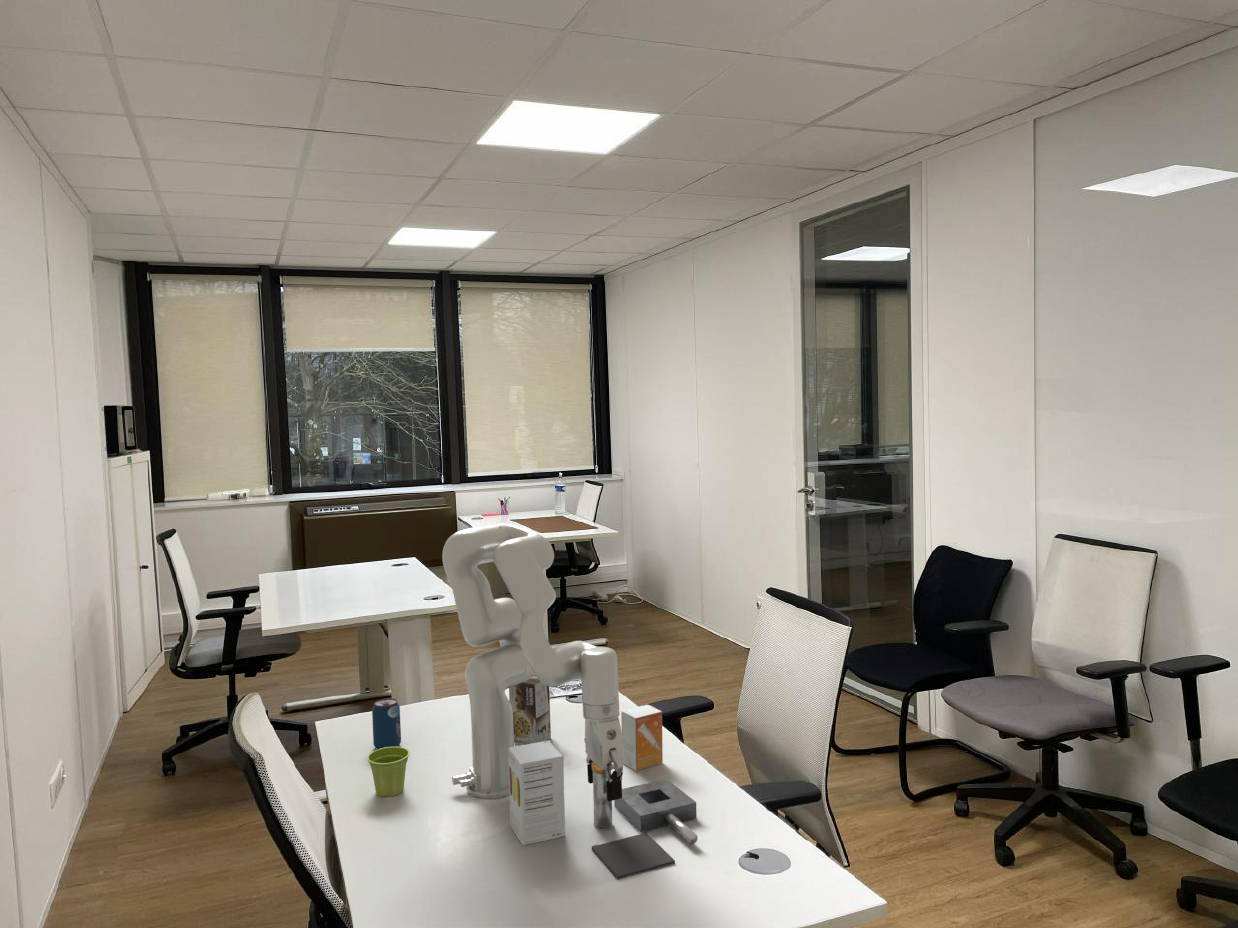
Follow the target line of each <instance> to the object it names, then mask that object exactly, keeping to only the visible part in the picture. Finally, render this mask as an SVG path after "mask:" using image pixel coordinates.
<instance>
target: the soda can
mask: <svg viewBox="0 0 1238 928" xmlns="http://www.w3.org/2000/svg"><path fill="white" fill-rule="evenodd" d="M371 715H372V718H371V719H372V720H371V721H372V736H373V737H372V739H373V741H372V743H373V747H374V748H375V750H378V749H381V748H385V747H400V745H401V743H402V729H401V727H402V726H401V708H400V705H399V703H398V700H397V698H396V699H395V698H391V697H389V698H387V697H386V698H381V699H378V700H376V701H375V702H374V704H373V706H372V709H371Z"/></svg>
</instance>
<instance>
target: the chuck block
mask: <svg viewBox="0 0 1238 928" xmlns="http://www.w3.org/2000/svg"><path fill="white" fill-rule="evenodd" d="M613 802H614V803H613V804H614V808H615V809H616V810H617V811H618V812H619V813H620V814H622V816H624V817H625V819H627V820H628V822H630V824H631V825H633V827H635V828H636V830H637V831H638V832H640V834H643V833H647V832H649V831H653V830H658V829H662V828H664V827H669V826H670V827H671V828H672V829H674V830H675V831H676V832H677V833H679V835H680V836H682V838H683V839H685V840H686V841H687V842H688V843H689V844H690V845H694V844H695V843H697V841H698V835H697V833H695V832H694V831H693V830H692V829H690V828H689V827H688V826H687V825H686V824H685V822H689V821H692V820H696V819H697V816H698V815H697V802H696V801H695V800H694V799H693V798H692V797H690V796H689V794H687V793H686V792H684V790H682V789H681V788H680V787H678V786H677V785H676V784H674V783H673V782H672V781H671V780H669V779H668V778H664V779H661V780H660V779H659V780H655V781H651V782H647V783H642V784H637V785H634V786H628V787H625V788H624V787H623V788H622V798H621V799H617V800H613Z"/></svg>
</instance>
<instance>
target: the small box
mask: <svg viewBox="0 0 1238 928" xmlns="http://www.w3.org/2000/svg"><path fill="white" fill-rule="evenodd" d="M620 713H621V714H620V715H621V716H620V717H621V718H620V719H621V722H620V725H621V732H622V740H623V750H624V765H625V766H627V767H628V768H630V769H632V770H634V771H635V772H637V771H640V770H643V769H646V768H650V767H654V766H657V765H661V764H664V763H663V762H664V761H663V711H662V710H660V709H658V708H656V707H654V706H652V705H650V704H645V705H641V706H637V707H636V706H635V707H631V708H630V709H629V708H628V709H625V710H620Z"/></svg>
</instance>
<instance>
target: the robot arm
mask: <svg viewBox="0 0 1238 928" xmlns="http://www.w3.org/2000/svg"><path fill="white" fill-rule="evenodd" d="M441 556H442V559H441V560H442V565H443V568H444V572H445V574H446V577H447V580H448V583H449V585H450V587H451V589H452V593H453V597H454V604H455V607H456V612H457V615H458V616H457V617H458V620H459V624H460V630H461V632H462V636H463V638H464V641H465V642H466V644H468V645H469V646H471V647H476V648H477V647H478V648H479V647H483V646H487V645H490V644H493V643H497V642H499V645H500V646H499V647H498V646H497V647H494V648H492V649H489V650H485V651H483V652H481V653H478V654H476V655H474V656H473V657H472V658H470V660H469V661H468V663H467V664H466V665H465V669H464V679H465V685H466V688H467V692H468V698H469V706H470V707H469V708H470V724H471V725H470V726H471V749H472V750H471V751H472V755H471V756H472V766H469V769H468V770H469V771H467V772H465V773H464V774H458V775H453V776H452V777H451V781H452V786H455V785H456V786H457V785H460V787H461V788H466V791H467V793H468V794H470V795H471V796H473V797H475V798H480V799H488V800H489V799H490V800H491V799H498V798H500V799H501V798H505V797H507V796H510V793H509V758H508V748H510V747H514V746H515V740H514V729H513V710H512V705H511V703H510V701H509V698H508V696H507V694H506V690H509V688H510V687H512V686H515V685H517V684H520V683H523V682H525V681H527V680H528V679H530V678H531V677H532V675H535V676H536V677H537V678H538V679H539V680H540V681H541V682H542V683H543V684H544V685H546V686H549V688H550V687H551V688H556V687H559V686H561V685H564V684H568V683H569V682H572V681H575V680H578V679H581V698H582V699H581V700H582V717H583V719H584V744H585V746H584V747H585V750H584V751H585V754H586V759H585V760H586V763H587V765H586V767H587V782H588V783H589V784H593V771H592V762H594V763H595V764H597V765H598V766H599V767H600V768H602V769H604V770H605V772H606V776H607V779H608V781H606V792H607V800H608V801H612V802H614V800H617V799H621V798H622V789H623V785H622V784H623V781H622V780H623V774H624V772H623V770H624V765H625V764H624V750H623V740H622V725H621V722H620V715H621V714H620V713H621V711H620V695H619V693H620V692H619V690H620V689H619V673H618V672H619V670H618V667H619V666H618V655H617V653H616V651H615V649H613V648H611V647H607V646H597V645H594V644H592V643H590V642H587V641H584V640H574V641H571V642H568V643H565V644H561V645H559V646H556V647H554V648H552V645H551V644H550V642H549V640H548V638H547V636H546V634H545V631H544V616H545V614H546V611H547V610H548V609H549V608H551V606H552V605H553V604H554V602H555V601H556V598H557V594H556V593H557V592H556V591H555V589H554V587H553V586H552V584H551V583H550V580H549V579H548V576H546V573H545V572H544V571H546V570H548V569H549V568H551V566H552V564H553V563H554V559H555V551H554V548H553V546H552V543H550V542H549V541H548V539H547V538H545V537H544V536H542V535H541V534H539V533H537V532H534V531H531V530H528V529H526V528H522V527H519V526H516V525H513V524H510V523H503V522H502V523H493V524H487V525H480V526H474V527H469V528H465V529H462V530H459V531H456V532H455V533H452V534H451V535H450V536H449V537H448V538H447V540H446V541H445V543H444V546H443V549H442V555H441ZM492 562H493V563H494V565H495V567H496V569H497V571H498V573H499V574H500V576H501V578H502V580H503V582H504V584H505V586H506V587H507V590H508V591H509V593H510V595H511V596H512V598H511V597H500V598H495V599H494V597H493V593H492V588H491V585H490V581H489V580H488V578H487V576H485V574H484V572H483V571H482V570H481V569H480V568H478V566H479V565H483V564H488V563H492ZM609 763H612V765H608V766H607V764H609ZM611 769H612V770H613V771H612V770H611ZM610 770H611V771H612V772H611V773H610Z"/></svg>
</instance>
